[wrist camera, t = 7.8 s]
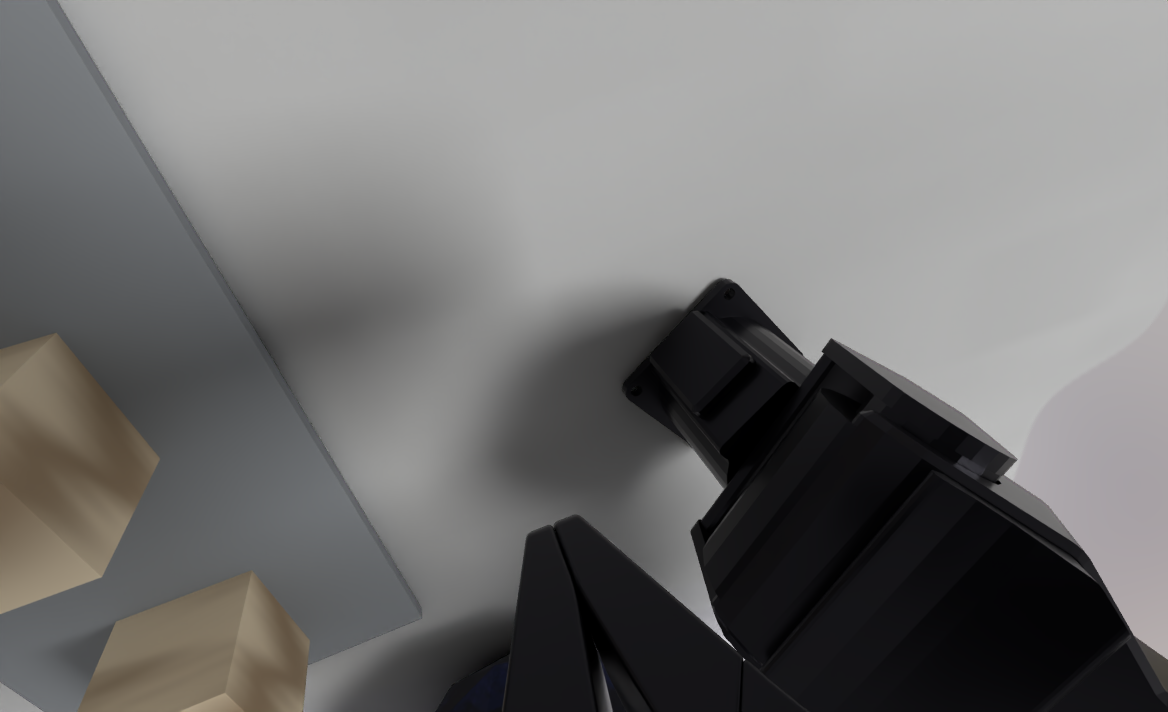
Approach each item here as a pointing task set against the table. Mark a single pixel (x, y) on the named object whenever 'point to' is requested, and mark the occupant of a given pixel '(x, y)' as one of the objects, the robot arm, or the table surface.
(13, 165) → the mat
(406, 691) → the table surface
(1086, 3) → the table surface
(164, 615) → the marked block
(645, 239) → the table surface
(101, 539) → the plain block
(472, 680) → the decorative orb
